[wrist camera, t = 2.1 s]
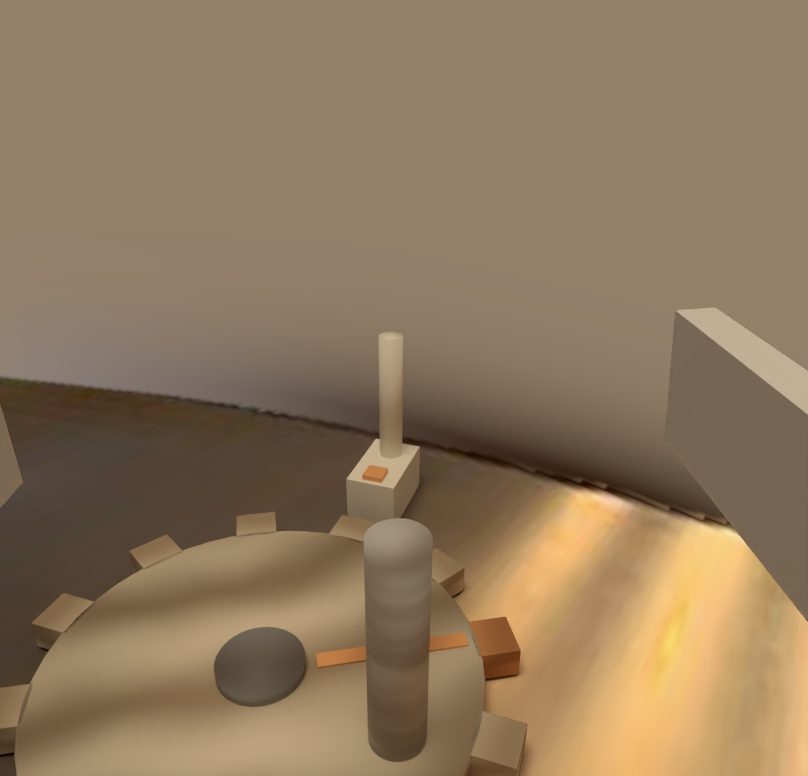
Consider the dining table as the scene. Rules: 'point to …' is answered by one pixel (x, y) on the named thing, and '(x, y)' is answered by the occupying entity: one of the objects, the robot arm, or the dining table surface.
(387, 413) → the index post
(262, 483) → the dining table surface
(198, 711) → the sprocket
